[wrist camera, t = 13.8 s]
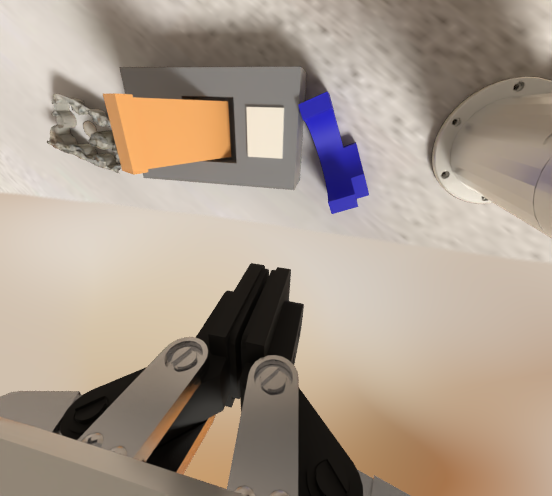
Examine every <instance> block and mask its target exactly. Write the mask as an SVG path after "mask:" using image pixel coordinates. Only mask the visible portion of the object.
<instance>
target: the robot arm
mask: <svg viewBox="0 0 552 496" xmlns="http://www.w3.org/2000/svg"><path fill="white" fill-rule="evenodd" d="M514 85H516V89H515V90H513V88H514ZM454 119H455V120H456V122H455V124H452V121H453V120H454ZM432 165H433V171H434V174H435V176H436V179H437V181H438V182H439V183H440V185H441V186H442V187H443V188H444V189H445V190H446V191H447V192H448V193H450V194H451V195H453V196H454V197H456V198H458V199H460V200H463V201H466V202H470V203H475V204H489V203H494V204H496V205H498V206H499V207H501V208H503V209H504V210H506V211H508V212H509V213H511V214H512V215H514V216H516V217H517V218H519V219H521V220H522V221H524V222H526V223H527V224H529V225H531V226H532V227H534V228H536V229H537V230H539V231H540V232H542V233H544V234H545V235H547V236H549V237H550V238H552V81H551V80H547V79H544V78H540V77H519V78H512V79H508V80H503V81H499V82H496V83H494V84H492V85H489V86H487V87H484V88H483V89H481V90H479V91H477V92H476V93H474V94H472V95H471V96H470V97H468V98H467V99H466V100H465V101H463V102H462V103H461V104H460V105H459V106H458V107H457V108H456V109H455V110H454V111H453V112H452V113H451V114H450V115H449V117H448V118H447V119H446V121H445V122H444V124H443V125H442V127H441V129H440V131H439V133H438V135H437V137H436V140H435V143H434V147H433V153H432ZM443 172H445V174H444V175H441V174H442V173H443ZM482 196H483V197H482ZM290 276H291V270H290V269H285V268H279V267H278V268H277V269H276V270H272V271H271V273H270V275H269V270H268V269H265V266H264V265H259V264H253V263H251V264H250V265H249V267H248V269H247V271H246V272H245V274H244V275H243V277H242V279H241V280H240V282H239V284H238V285H237V287H236V289H235V290H234V292H233V291H226V292H225V293H224V295H223V296H222V298H221V299H220V301H219V302H218V304H217V306H216V307H215V309H214V310H213V312H212V313H211V315H210V316H209V318H208V319H207V321H206V323H205V324H204V326H203V327H202V329H201V330H200V332H199V333H198V335H197V336H196V338H194V337H186V338H182V339H178V340H176V341H174V342H172V343H171V344H169V345H168V346H167V347H166V348H165V349H164V350H163V351H162V352H161V353H160V354H159V355H158V356H157V357H156V358H155V359H154V360H153V361H152V362H151V363H150V365H148V367H146V368H144V369H142V370H139V371H136V372H134V373H132V374H129V375H127V376H124V377H122V378H120V379H117V380H115V381H112V382H110V383H108V384H106V385H103V386H100V387H98V388H95V389H93V390H91V391H89V392H87V393H85V394H83V395H81V394H80V392H79V391H74V392H73V391H18V392H11V393H8V394H6V395H3V396H1V397H0V496H410V495H408V494H407V493H405V492H403V491H401V490H399V489H398V488H396V487H394V486H392V485H390V484H389V483H387V482H385V481H383V480H381V479H380V478H378V477H376V476H374V477H373V478H371V477H369V476H367V475H366V474H364V473H362V472H360V471H359V470H357V469H356V467H355V465H354V463H353V462H352V460H351V459H350V458H349V456H348V455H347V453H346V452H345V451H344V449H343V448H342V447H341V445H340V444H339V443H338V441H337V440H336V438H335V437H334V436H333V434H332V433H331V432H330V430H329V429H328V427H327V426H326V425H325V423H324V422H323V420H322V419H321V418H320V416H319V415H318V414H317V412H316V411H315V409H314V408H313V407H312V405H311V404H310V402H309V401H308V400H307V398H306V397H305V395H304V394H303V393H302V391H301V390H300V389H299V387H298V373H297V370H296V368H295V366H294V363H295V358H296V353H297V347H298V342H299V337H300V331H301V325H302V317H303V308H304V304H301V303H295V302H290V301H289V290H290ZM240 397H241V417H240V423H239V428H238V434H237V439H236V444H235V450H234V454H233V460H232V465H231V471H230V476H229V481H228V486H227V489H224V488H221V487H218V486H215V485H212V484H209V483H206V482H203V481H200V480H197V479H194V478H191V477H188V476H185V475H183V474H184V472H185V471H186V469H187V467H188V465H189V464H190V462H191V460H192V458H193V457H194V455H195V453H196V451H197V450H198V448H199V446H200V444H201V443H202V441H203V439H204V437H205V436H206V434H207V432H208V431H209V429H210V427H211V425H212V424H213V421H214V419H215V416H216V414H217V413H219V412H221V411H223V409H224V407H225V406H228V407H232V405H233V402H234V399H235V398H237V399H240Z"/></svg>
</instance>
